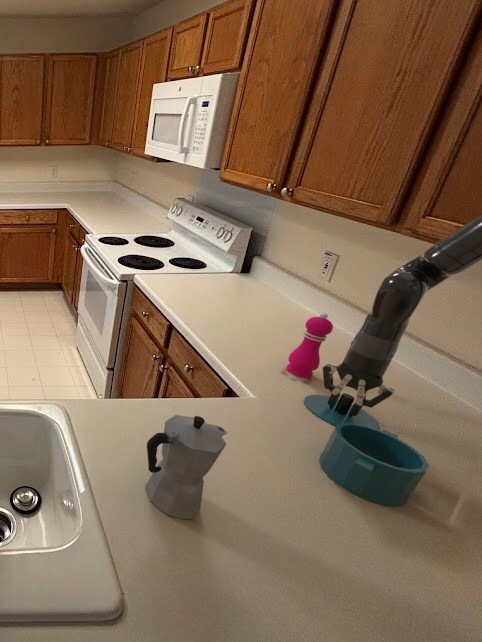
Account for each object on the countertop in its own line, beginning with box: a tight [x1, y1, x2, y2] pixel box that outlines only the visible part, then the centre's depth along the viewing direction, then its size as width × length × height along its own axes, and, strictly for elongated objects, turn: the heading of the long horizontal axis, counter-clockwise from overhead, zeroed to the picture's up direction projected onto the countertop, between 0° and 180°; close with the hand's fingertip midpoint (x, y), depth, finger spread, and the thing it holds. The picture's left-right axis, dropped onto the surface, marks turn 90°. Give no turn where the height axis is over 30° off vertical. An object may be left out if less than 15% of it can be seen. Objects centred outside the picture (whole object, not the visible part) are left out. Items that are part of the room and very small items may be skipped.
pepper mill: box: [285, 312, 334, 379], centre depth 118 cm, size 7×7×20 cm
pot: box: [319, 423, 430, 508], centre depth 82 cm, size 14×19×8 cm
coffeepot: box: [145, 414, 228, 520], centre depth 71 cm, size 15×9×18 cm, turn 105°
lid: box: [303, 392, 380, 430], centre depth 102 cm, size 15×15×6 cm
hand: (341, 410), depth 103 cm, fingers open, 3 cm apart
